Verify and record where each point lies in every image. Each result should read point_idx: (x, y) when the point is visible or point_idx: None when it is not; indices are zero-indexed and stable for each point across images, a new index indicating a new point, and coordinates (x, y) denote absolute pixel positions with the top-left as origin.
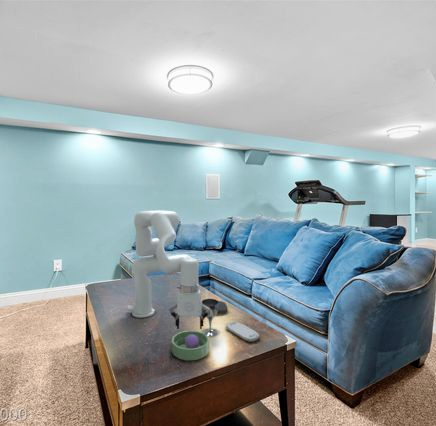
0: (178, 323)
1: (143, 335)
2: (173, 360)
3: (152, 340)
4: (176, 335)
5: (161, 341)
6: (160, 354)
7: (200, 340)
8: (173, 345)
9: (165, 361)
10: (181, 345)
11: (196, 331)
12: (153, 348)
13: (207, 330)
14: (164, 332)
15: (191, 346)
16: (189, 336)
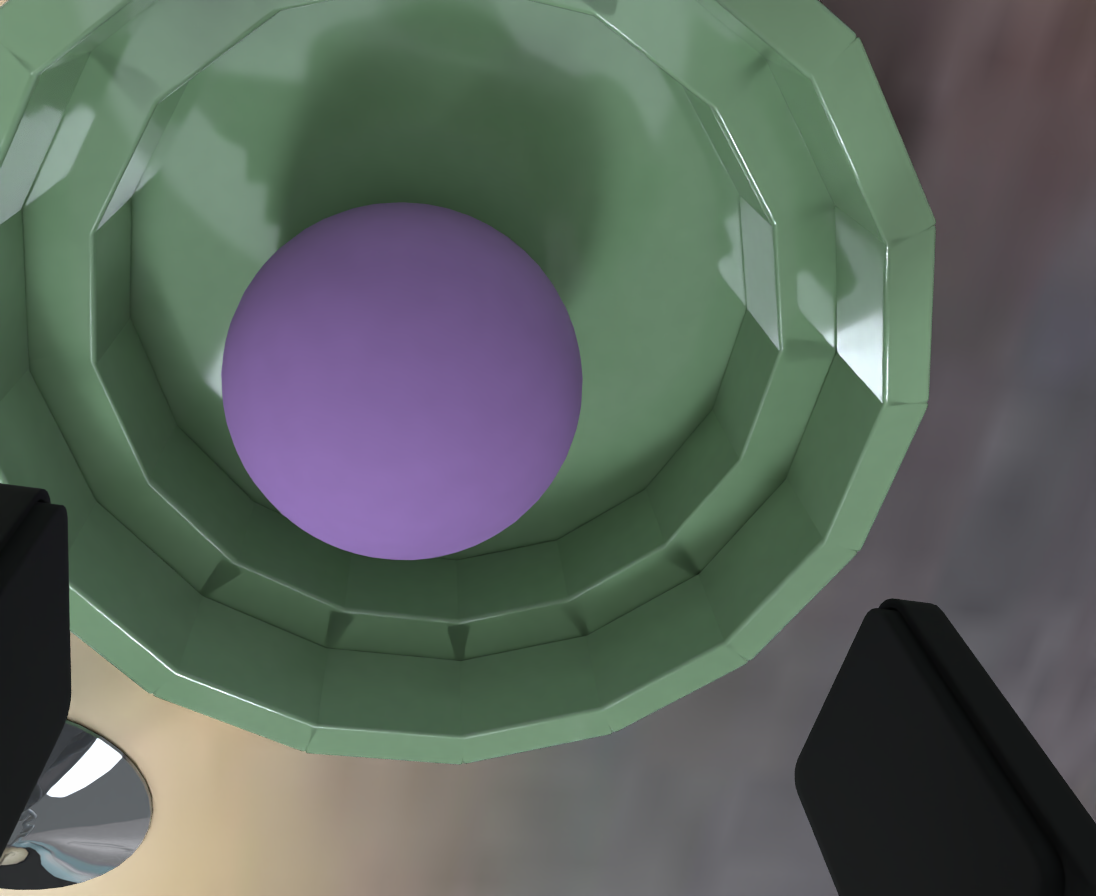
0: (979, 747)
1: (1091, 801)
2: (863, 12)
3: (1015, 681)
4: (743, 617)
5: None
6: (1034, 279)
7: (196, 503)
8: (924, 234)
9: (1028, 10)
10: (604, 470)
11: (257, 713)
12: (1080, 476)
13: (57, 842)
14: (780, 846)
15: (444, 211)
16: (478, 447)
